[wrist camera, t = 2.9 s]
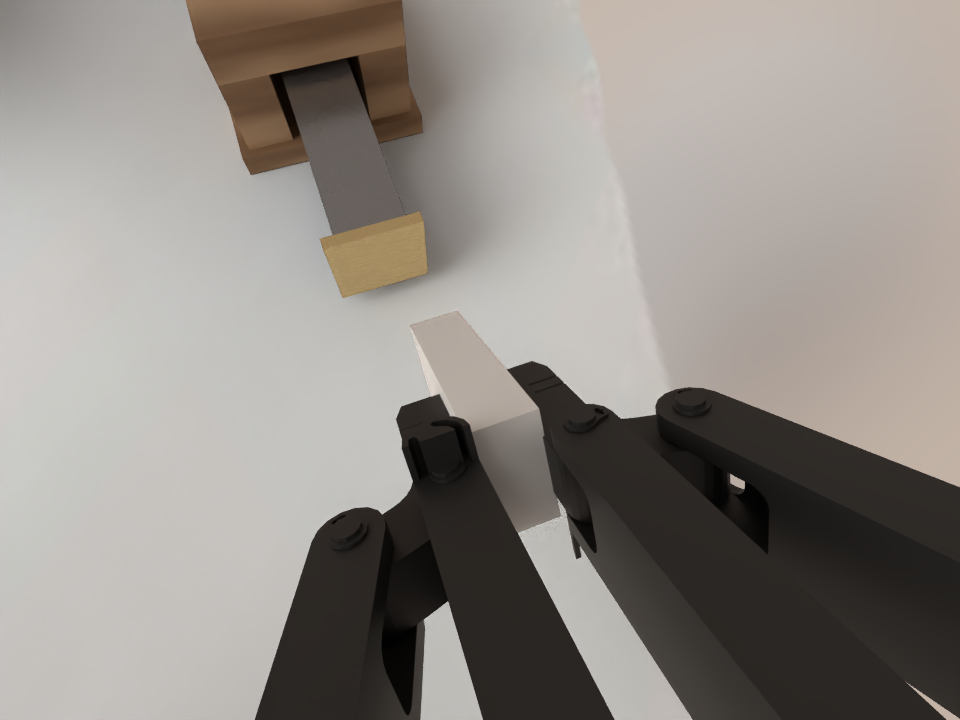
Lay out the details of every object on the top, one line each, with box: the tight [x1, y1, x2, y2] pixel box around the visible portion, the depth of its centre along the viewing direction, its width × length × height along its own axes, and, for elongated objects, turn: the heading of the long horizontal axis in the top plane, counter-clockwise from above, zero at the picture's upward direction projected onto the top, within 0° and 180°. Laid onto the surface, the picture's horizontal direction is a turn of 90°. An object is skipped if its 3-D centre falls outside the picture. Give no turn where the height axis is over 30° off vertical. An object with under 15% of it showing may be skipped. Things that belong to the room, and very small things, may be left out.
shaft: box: [281, 58, 428, 298], centre depth 30 cm, size 21×5×5 cm, turn 20°
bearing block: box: [186, 0, 423, 175], centre depth 32 cm, size 13×11×8 cm
